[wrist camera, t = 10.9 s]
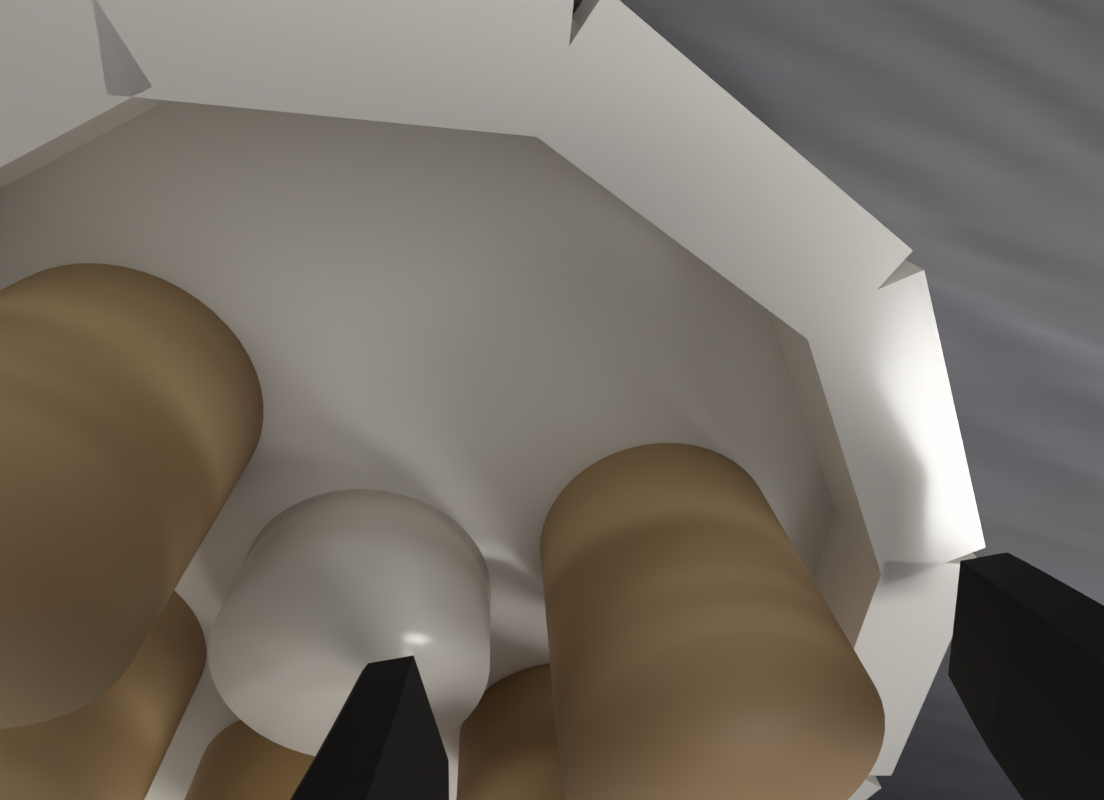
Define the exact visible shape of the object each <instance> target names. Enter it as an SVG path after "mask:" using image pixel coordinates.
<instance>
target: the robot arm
mask: <svg viewBox="0 0 1104 800" xmlns="http://www.w3.org/2000/svg"><path fill="white" fill-rule="evenodd" d="M948 675H949V677H950V679H951V681H952V683H953V685H954V687H955V689H956V690H957V692H958V694H959V696H960V698H961V700H962V702H963V704H964V706H965V707H966V709H967V711H968V713H969V715H970V717H971V719H972V720H973V722H974V724H975V726H976V727H977V729H978V731H979V733H980V734H981V736H982V738H983V740H984V741H985V743H986V745H987V747H988V749H989V750H990V752H991V753H992V755H993V756H994V758H995V759H996V761H997V762H998V764H999V765H1000V766H1001V768H1002V769H1003V771H1004V772H1005V774H1006V775H1007V777H1008V778H1009V779H1010V781H1011V782H1012V784H1013V785H1014V787H1015V788H1016V789H1017V791H1018V792H1019V794H1020V795H1021V797H1022V798H1023V799H1024V800H1104V606H1103V605H1101V604H1100V603H1098V602H1096V601H1094V600H1093V599H1091V598H1089V597H1087V596H1086V595H1084V594H1082V593H1080V592H1078V591H1077V590H1075V589H1073V588H1071V587H1070V586H1068V585H1066V584H1064V583H1062V582H1061V581H1059V580H1057V579H1055V578H1054V577H1052V576H1050V575H1048V574H1046V573H1045V572H1043V571H1041V570H1039V569H1037V568H1035V567H1034V566H1032V565H1030V564H1028V563H1026V562H1024V561H1022V560H1021V559H1019V558H1017V557H1015V556H1013V555H1011V554H1009V553H1002V554H996V555H991V556H985V557H979V558H973V559H967V560H962V561H960V570H959V579H958V589H957V598H956V607H955V617H954V626H953V635H952V645H951V654H950V663H949V673H948ZM290 800H449V760H448V757H447V754H446V751H445V748H444V745H443V742H442V739H441V736H440V733H439V730H438V727H437V724H436V721H435V718H434V715H433V712H432V709H431V706H430V703H429V700H428V697H427V694H426V691H425V688H424V685H423V682H422V679H421V676H420V673H419V670H418V667H417V664H416V661H415V658H414V655H413V656H407V657H401V658H396V659H390V660H384V661H378V662H373V663H368V664H367V665H366V667H365V668H364V669H363V670H362V672H361V674H360V676H359V677H358V679H357V681H356V683H355V685H354V687H353V689H352V690H351V692H350V694H349V696H348V698H347V700H346V702H345V704H344V705H343V707H342V709H341V711H340V713H339V715H338V717H337V718H336V720H335V722H334V724H333V726H332V727H331V729H330V731H329V733H328V735H327V736H326V738H325V740H324V742H323V744H322V745H321V747H320V749H319V751H318V753H317V754H316V756H315V758H314V760H313V761H312V763H311V765H310V767H309V768H308V770H307V772H306V773H305V775H304V777H303V779H302V780H301V782H300V784H299V785H298V787H297V789H296V790H295V792H294V794H293V795H292V797H291V799H290Z"/></svg>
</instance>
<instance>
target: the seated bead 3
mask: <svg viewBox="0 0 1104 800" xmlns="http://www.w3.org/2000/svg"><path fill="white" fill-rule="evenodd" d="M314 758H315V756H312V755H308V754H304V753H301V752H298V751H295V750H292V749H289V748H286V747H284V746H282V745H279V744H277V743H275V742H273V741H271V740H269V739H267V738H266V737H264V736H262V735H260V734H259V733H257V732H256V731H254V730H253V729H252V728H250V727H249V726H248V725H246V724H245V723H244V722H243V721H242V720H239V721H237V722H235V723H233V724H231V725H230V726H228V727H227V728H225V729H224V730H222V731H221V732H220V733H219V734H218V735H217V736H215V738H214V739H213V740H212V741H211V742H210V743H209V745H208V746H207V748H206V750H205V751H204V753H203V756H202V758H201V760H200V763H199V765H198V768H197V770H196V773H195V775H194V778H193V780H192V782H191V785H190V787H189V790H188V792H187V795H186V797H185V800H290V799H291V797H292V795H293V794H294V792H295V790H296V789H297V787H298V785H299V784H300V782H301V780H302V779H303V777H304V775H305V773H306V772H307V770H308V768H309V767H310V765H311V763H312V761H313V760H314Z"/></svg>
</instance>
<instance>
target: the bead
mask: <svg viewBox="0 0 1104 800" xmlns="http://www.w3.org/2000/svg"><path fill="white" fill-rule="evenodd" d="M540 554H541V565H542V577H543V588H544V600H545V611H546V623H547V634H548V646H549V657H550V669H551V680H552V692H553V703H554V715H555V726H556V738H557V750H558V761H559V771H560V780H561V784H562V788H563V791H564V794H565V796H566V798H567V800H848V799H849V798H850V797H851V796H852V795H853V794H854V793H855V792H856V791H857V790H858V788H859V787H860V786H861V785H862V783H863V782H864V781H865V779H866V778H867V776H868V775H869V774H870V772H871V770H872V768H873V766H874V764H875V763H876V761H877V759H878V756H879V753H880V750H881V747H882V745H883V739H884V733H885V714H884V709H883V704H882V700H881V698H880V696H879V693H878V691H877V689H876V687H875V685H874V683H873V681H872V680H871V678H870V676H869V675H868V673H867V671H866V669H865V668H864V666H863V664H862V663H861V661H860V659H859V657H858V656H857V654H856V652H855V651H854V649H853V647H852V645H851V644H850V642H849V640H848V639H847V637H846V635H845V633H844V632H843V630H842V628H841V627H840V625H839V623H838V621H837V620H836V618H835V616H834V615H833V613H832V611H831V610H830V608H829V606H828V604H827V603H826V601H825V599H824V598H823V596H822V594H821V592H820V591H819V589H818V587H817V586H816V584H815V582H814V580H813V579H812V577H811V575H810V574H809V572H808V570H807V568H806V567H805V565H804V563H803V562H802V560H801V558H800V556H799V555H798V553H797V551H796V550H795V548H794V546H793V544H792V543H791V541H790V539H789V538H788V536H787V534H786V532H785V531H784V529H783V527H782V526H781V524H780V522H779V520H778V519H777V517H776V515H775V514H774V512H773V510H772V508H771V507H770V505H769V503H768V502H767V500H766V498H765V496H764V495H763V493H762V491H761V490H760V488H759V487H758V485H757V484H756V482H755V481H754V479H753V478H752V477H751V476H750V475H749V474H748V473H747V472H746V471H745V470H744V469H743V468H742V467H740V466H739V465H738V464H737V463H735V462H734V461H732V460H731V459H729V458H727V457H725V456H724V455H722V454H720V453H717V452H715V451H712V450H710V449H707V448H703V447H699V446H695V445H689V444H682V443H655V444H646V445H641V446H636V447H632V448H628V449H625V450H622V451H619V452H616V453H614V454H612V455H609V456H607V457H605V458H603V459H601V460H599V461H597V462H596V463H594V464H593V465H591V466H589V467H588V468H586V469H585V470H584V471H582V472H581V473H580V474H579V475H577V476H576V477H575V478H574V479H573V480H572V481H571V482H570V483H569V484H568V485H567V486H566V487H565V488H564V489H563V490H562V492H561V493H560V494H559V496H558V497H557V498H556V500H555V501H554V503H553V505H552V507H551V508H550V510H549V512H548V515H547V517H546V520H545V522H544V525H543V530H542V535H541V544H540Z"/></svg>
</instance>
